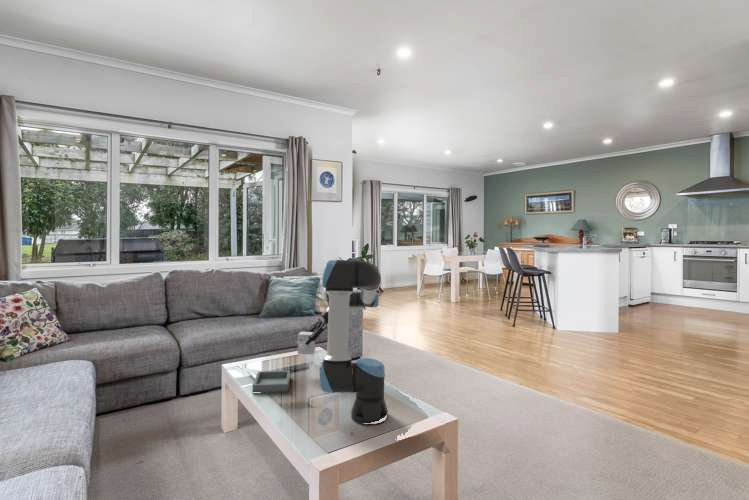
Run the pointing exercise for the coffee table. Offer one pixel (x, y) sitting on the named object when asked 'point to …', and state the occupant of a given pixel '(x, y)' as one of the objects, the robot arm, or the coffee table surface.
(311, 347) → the small box
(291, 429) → the coffee table surface
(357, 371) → the robot arm
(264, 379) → the tray
